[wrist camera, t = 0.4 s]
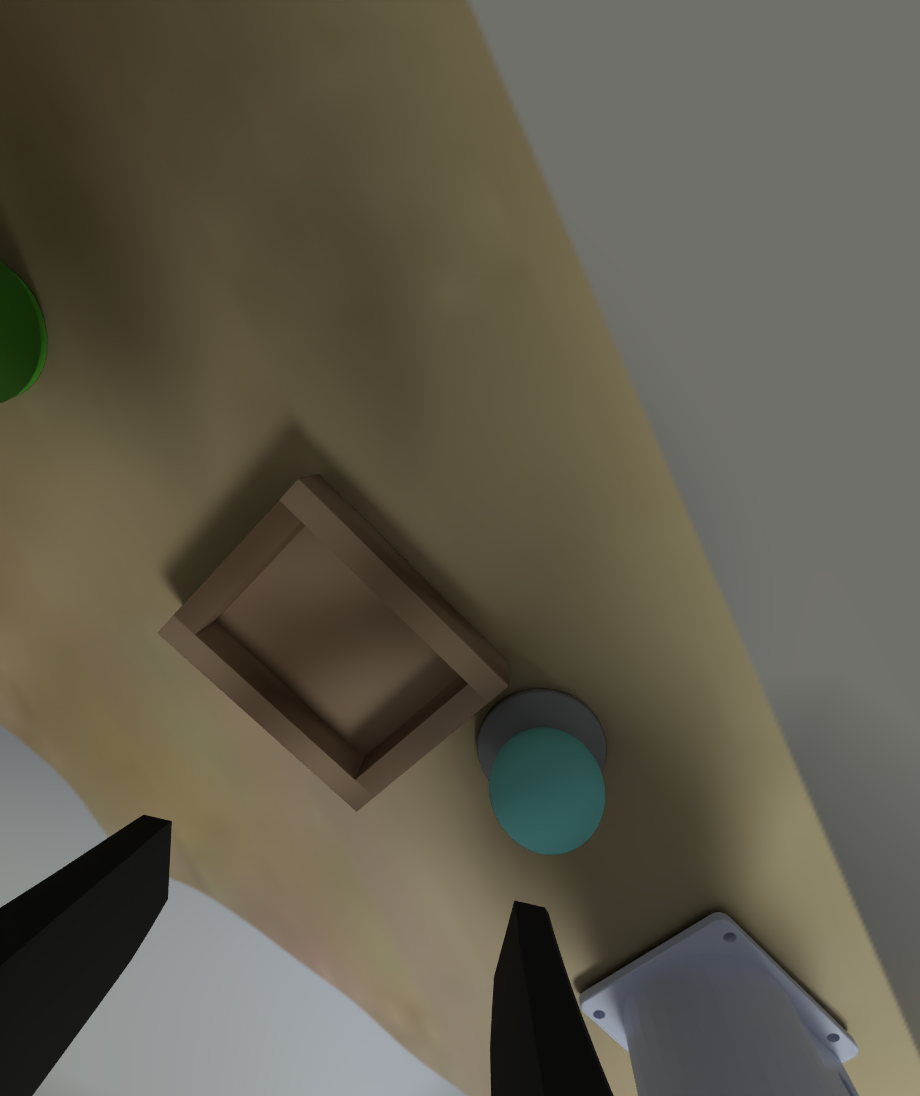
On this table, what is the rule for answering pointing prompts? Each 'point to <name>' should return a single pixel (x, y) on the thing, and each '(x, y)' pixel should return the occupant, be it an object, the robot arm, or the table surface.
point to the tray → (336, 644)
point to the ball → (547, 791)
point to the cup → (19, 336)
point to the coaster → (538, 722)
